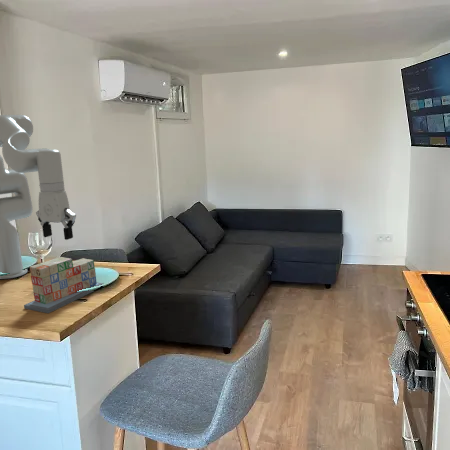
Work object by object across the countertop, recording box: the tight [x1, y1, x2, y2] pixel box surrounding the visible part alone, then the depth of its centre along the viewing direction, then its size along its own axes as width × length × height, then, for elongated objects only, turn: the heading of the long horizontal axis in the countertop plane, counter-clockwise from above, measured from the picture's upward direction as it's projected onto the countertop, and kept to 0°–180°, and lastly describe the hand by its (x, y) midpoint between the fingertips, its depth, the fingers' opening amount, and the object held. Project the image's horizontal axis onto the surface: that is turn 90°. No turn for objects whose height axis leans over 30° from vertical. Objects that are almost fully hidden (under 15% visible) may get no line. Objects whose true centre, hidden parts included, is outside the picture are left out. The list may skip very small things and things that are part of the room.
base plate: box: [23, 281, 104, 314], centre depth 158 cm, size 11×26×1 cm, turn 153°
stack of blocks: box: [29, 256, 98, 304], centre depth 157 cm, size 21×6×12 cm, turn 145°
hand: (58, 237), depth 153 cm, fingers open, 9 cm apart
